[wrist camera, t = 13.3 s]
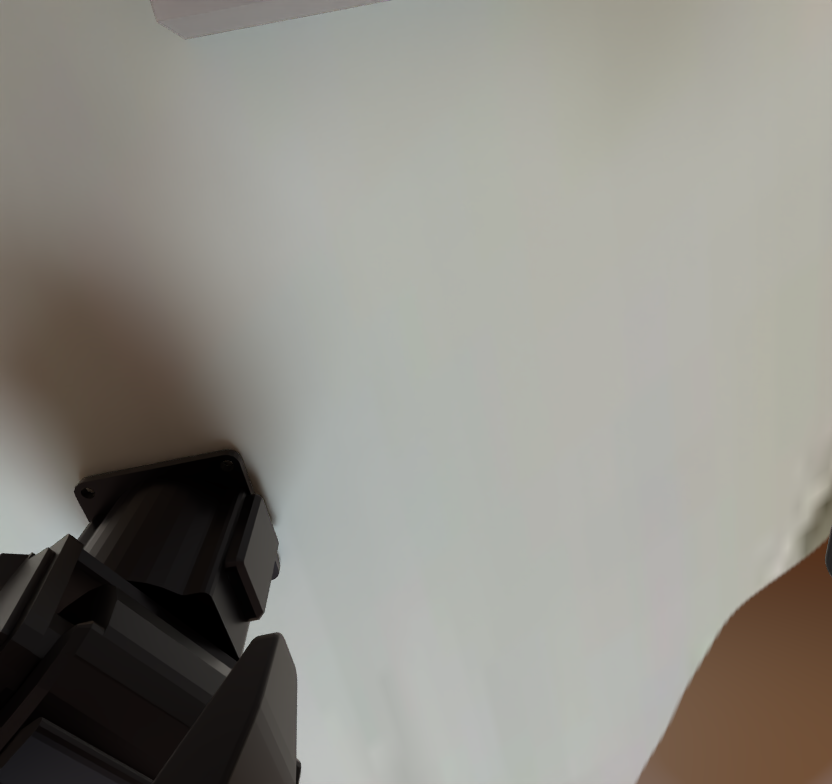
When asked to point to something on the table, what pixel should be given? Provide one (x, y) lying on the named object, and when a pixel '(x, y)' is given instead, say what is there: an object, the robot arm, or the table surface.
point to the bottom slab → (238, 13)
